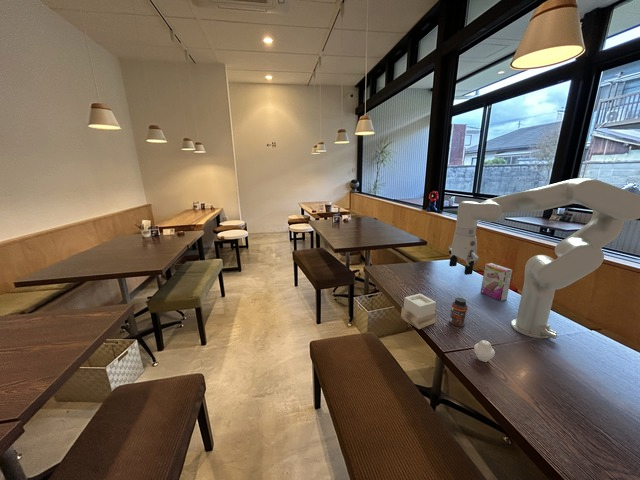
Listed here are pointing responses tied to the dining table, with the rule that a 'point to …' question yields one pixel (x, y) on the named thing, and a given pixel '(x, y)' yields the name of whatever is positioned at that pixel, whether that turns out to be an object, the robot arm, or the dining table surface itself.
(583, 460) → the dining table surface
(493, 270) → the candy bar box
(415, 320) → the tower base
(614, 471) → the dining table surface
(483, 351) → the white cupcake
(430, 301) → the tower top
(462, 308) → the supplement bottle
